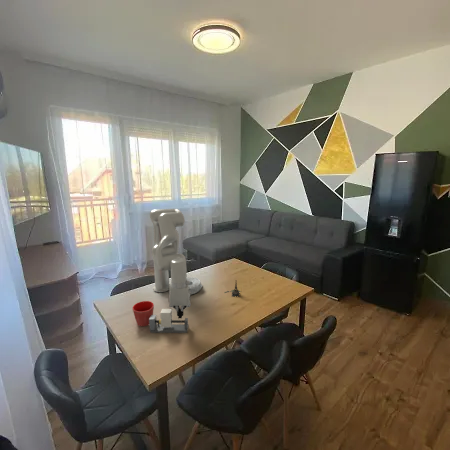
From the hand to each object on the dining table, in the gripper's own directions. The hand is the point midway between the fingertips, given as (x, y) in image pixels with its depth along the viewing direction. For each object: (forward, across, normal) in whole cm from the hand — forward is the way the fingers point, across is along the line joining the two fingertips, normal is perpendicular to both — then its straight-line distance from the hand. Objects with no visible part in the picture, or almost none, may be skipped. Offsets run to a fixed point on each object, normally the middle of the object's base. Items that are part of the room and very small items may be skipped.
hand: (180, 316), depth 125 cm
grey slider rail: (+7, +6, 0) cm, 9 cm away
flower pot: (+7, +21, -6) cm, 23 cm away
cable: (+8, +3, -44) cm, 44 cm away
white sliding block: (+4, +7, 0) cm, 8 cm away
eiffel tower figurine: (+8, -30, -37) cm, 49 cm away
